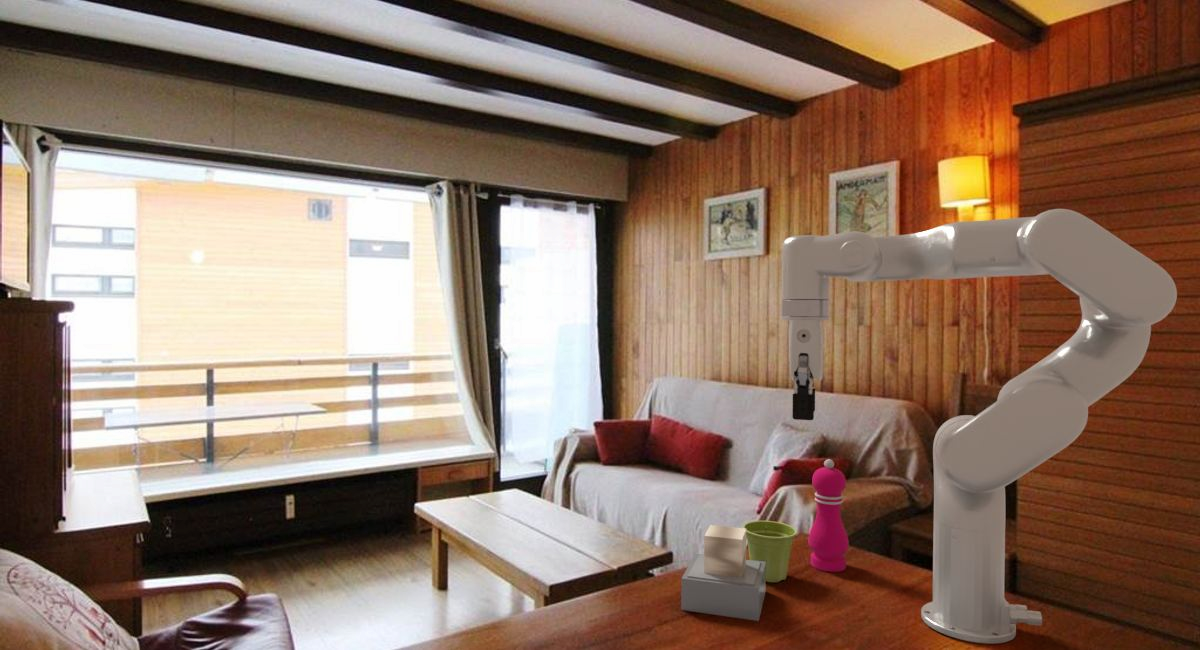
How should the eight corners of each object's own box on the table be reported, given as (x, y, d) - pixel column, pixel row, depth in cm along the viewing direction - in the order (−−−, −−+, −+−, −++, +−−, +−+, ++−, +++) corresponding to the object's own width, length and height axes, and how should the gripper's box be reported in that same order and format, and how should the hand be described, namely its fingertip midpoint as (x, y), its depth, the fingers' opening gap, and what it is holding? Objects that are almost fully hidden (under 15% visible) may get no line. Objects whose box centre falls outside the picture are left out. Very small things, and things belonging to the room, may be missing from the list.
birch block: (746, 564, 114) (746, 528, 114) (741, 577, 108) (742, 539, 108) (710, 560, 116) (710, 524, 115) (704, 572, 110) (704, 535, 110)
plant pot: (791, 568, 126) (791, 521, 126) (800, 588, 117) (801, 537, 117) (739, 565, 127) (740, 519, 127) (745, 585, 118) (746, 535, 118)
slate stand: (765, 591, 116) (765, 560, 115) (758, 620, 104) (758, 587, 104) (695, 581, 119) (695, 552, 119) (681, 609, 108) (681, 577, 108)
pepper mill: (821, 556, 133) (822, 453, 132) (856, 567, 127) (857, 460, 127) (800, 564, 128) (801, 458, 128) (834, 576, 122) (835, 465, 122)
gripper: (829, 311, 103) (828, 424, 103) (829, 312, 119) (828, 409, 119) (777, 310, 105) (776, 421, 105) (784, 311, 121) (783, 407, 122)
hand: (804, 415), depth 112 cm, fingers open, 9 cm apart
